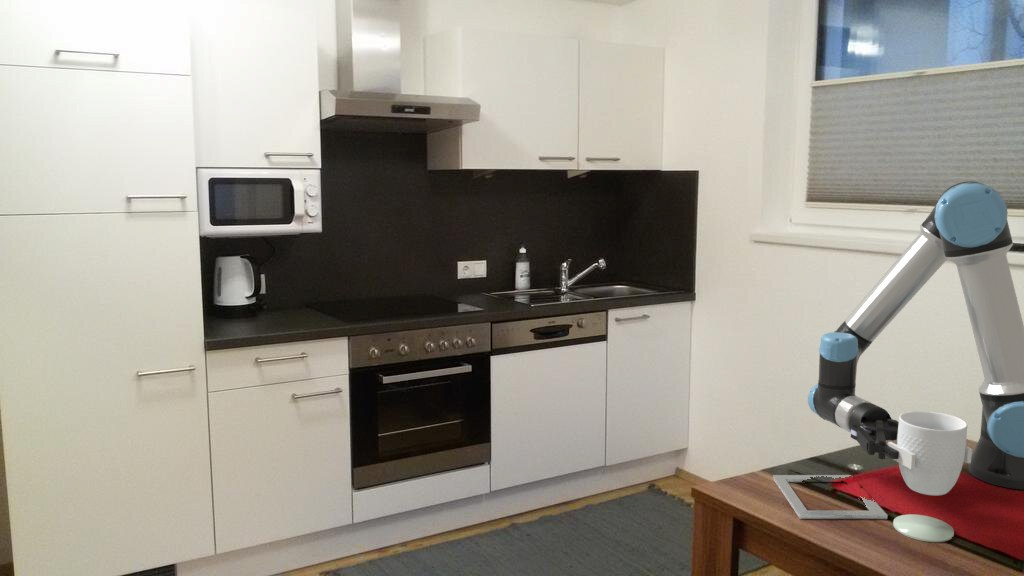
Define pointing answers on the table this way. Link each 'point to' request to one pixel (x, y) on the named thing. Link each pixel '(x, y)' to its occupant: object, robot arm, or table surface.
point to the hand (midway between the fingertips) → (941, 458)
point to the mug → (932, 450)
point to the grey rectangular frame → (803, 513)
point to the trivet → (923, 528)
